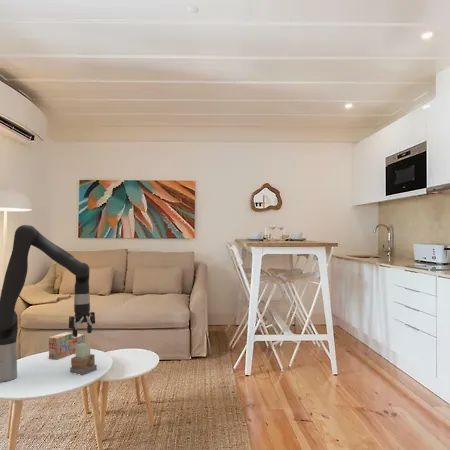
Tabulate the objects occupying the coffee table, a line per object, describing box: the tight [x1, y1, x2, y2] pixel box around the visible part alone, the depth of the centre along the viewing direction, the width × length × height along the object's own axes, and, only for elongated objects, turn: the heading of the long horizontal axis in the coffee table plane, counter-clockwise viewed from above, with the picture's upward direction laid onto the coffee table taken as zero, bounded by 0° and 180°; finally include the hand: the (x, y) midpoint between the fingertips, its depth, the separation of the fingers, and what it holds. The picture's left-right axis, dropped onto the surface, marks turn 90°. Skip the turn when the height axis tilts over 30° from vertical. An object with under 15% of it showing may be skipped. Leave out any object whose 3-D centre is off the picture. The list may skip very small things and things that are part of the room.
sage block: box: [75, 342, 91, 358], centre depth 208 cm, size 5×5×6 cm
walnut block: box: [70, 353, 96, 369], centre depth 208 cm, size 8×8×5 cm
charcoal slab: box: [69, 364, 98, 376], centre depth 208 cm, size 9×9×3 cm
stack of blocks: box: [48, 331, 86, 361], centre depth 240 cm, size 21×6×12 cm, turn 154°
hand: (82, 334), depth 208 cm, fingers open, 8 cm apart
